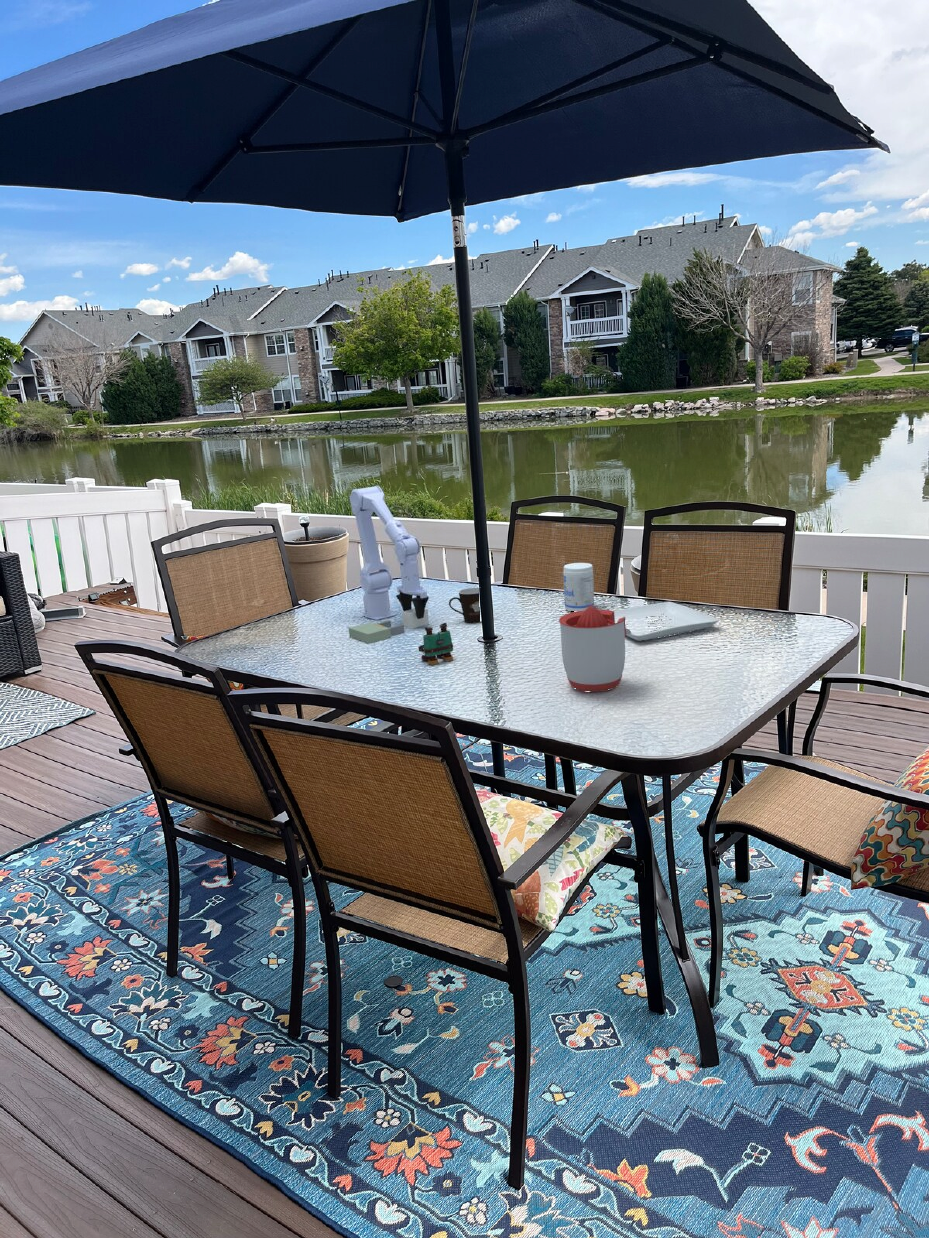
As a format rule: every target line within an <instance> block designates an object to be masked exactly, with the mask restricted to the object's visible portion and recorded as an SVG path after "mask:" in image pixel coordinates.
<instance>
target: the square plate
mask: <svg viewBox="0 0 929 1238" xmlns="http://www.w3.org/2000/svg"><path fill="white" fill-rule="evenodd" d="M613 611H614V616H615V622H618V619H620V618H623V617H625V620H626V619H641V618H642V619H643V617H645V616H667V617H660V618H659V617H658V618H648V619H672V620H667V621H663V622H662V621H657V622H656V621H655V622H654V621H653V622H652V621H649V622H645V621H644V622H637V623H670V624H668V625H667V624H666V625H663V624H662V625H661V624H660V625H658V626H674V627H667V628H664V627H663V628H660V629H659V628H657V629H656V628H655V629H654V628H653V629H652V628H649V629H645V628H644V629H629V630H659V631H656V632H655V631H654V632H653V631H652V632H649V631H648V632H647V631H646V632H642V631H641V632H631V634H626V637H629V638H631V639H632V640H635V641H638V642H642V640H644V641H650V640H649V639H651V640H655V639H654V638H657V639H659V638H658V637H662V638H665V637H664V636H667V637H670V636H669V635H672V636H675V635H674V634H678V633H683V634H686V633H685V632H688V633H691V632H690V631H693V632H696V631H695V630H697V631H700V630H705V629H707V628H710V627H713V626H714V625H715V624H717V622H719V621H720V619H719V618H717V617H714V616H712V615H709V614H707V613H706V612H705V613H704V612H702V611H699V610H697V609H694V608H691V607H688V606H685V605H682V604H679V603H675V602H672V601H664V602H658V603H652V604H645V605H639V606H633V607H628V608H623V609H622V608H621V609H619V610H618V609H617V610H613ZM663 613H665V614H664V615H663ZM661 614H662V615H661ZM644 619H647V618H644ZM673 619H675V620H673ZM632 623H633V622H632ZM635 623H636V622H635ZM673 623H675V624H673ZM634 626H635V625H634ZM641 626H642V625H641ZM643 626H644V625H643ZM646 626H651V625H646ZM652 626H657V625H652ZM675 626H676V627H675ZM633 633H648V634H642V635H641V634H640V635H639V634H638V635H637V634H633ZM678 635H679V634H678Z"/></svg>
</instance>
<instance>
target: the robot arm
mask: <svg viewBox="0 0 929 1238" xmlns="http://www.w3.org/2000/svg"><path fill="white" fill-rule="evenodd" d="M348 497H349V501H350V506H351V511H352V514H353V515H354V516H355V517H354V518H355V521H356V525H357V530H358V535H359V539H360V545H361V549H362V552H363V553H362V554H363V558H364V563H365V565H364V566H363V567H362V568H361V570H360V571H359V574H360V581H359V582H360V586H361V589H362V590H363V591H364V594H363V597H362V599H363V600H362V601H363V609H364V613H363V614H362V617H364V616H365V617H364V618H367V619H372V620H374V621H379V620H383V619H386V618H390V617H395V616H397V613H395V612H392V610H391V603H390V594H389V593H390V592H389V590H391V586H392V585H393V575H392V573H391V572H390V569H389V565H387V564H385V562H382V561H381V557H380V551H379V547H378V542H377V537H376V533H375V527H374V523H373V519H372V515H373V514H374V513H375V515H376V516H377V517H378V519H380V521H381V522H382V523H383V524H384V525H385V528H384V531H385V533H386V534H387V536H388V537H389V539H390V540H391V543H393V545H394V548H393V550H394V553H395V555H396V557H397V563H399V567H400V568H399V569H400V576H401V577H400V579H401V585H398V586H396V590H397V591H396V592H397V593H399V594H396V596H395V597H396V599H397V600H398V601H399V603H400V605H401V608H402V610H403V611H406V610H410V609H413V608H412V605H413V607H414V608H415V612H416V616H417V619H421V618H424V612H425V609H426V606H427V603H428V601H429V599H430V597H429V596H428V592H427V591H426V590H425V589H424V587H423V586H421V582H420V581H421V579H420V573H419V563H418V555H419V553H420V551H421V545H420V542H419V540H418V538H417V537H415V536H413V535H412V534H409V533H408V531H407V530H406V528H405V527H404V525H403V524H402V522H401V520H397V519H395V518H394V516H393V514H392V512H391V511H390V509H389V507H388V506H387V504H386V502H385V500H386V497H385V493H384V492H383V490H382V488H381V487H380V486H379V485H375V486H371V487H370V486H369V487H363V488H354V489H352V491H351V493H350V496H348ZM413 596H415V597H413ZM403 611H402V612H403Z"/></svg>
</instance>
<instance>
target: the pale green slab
mask: <svg viewBox="0 0 929 1238" xmlns="http://www.w3.org/2000/svg"><path fill="white" fill-rule="evenodd" d="M391 621H392V620H385V621H381V622H377V623H375V622H371V621H369V622H366V623H362V624H358V625H355V626H354V625H353V626H351V627H348V634H349V638H351V637H352V639H355V640H357V641H360V640H361V641H360V642H363V643H366V644H368V643H370V644H372V643H373V644H374V643H376V642H381V641H383V640H384V641H385V640H388V639H391V638H392V636H397V635H399V634H403V633H405V627H404V625H403V624H402V623H401V624H397V625H395V626H392V622H391ZM380 640H381V641H380Z"/></svg>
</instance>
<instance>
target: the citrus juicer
mask: <svg viewBox="0 0 929 1238" xmlns="http://www.w3.org/2000/svg"><path fill="white" fill-rule="evenodd" d="M614 611H615V610H609V609H597V608H596V607H595V605H594V606H589V607H588V608H587V609H586V610H584V611H577V612H569V613H566V614H563V615H562V616H560V617H559V619H558V622H559V625H560V628H559V629H560V642H561V644H560V645H561V657H562V662H563V663H562V664H563V667H564V671H565V674H566V678H567V680H568V682H569V685H570V686H571V687H572V688H573V689H574V688H576V689H575V690H577V689H578V690H577V691H580V690H583V691H582V692H584V691H600V692H605V691H604V690H606V691H609V690H608V689H610V690H612V689H611V688H613V689H615V687H616V686H617V687H618V686H619V685H620V683H621V680H622V677H623V673H624V672H623V671H624V669H625V668H624V667H625V661H626V640H625V638H627V635H626V634H631V631H630V630H629V629H627V628H626V625H625V617H623V618H620V619H618V622H617V623H615V616H614ZM618 684H619V685H618ZM617 687H616V688H617Z"/></svg>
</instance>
